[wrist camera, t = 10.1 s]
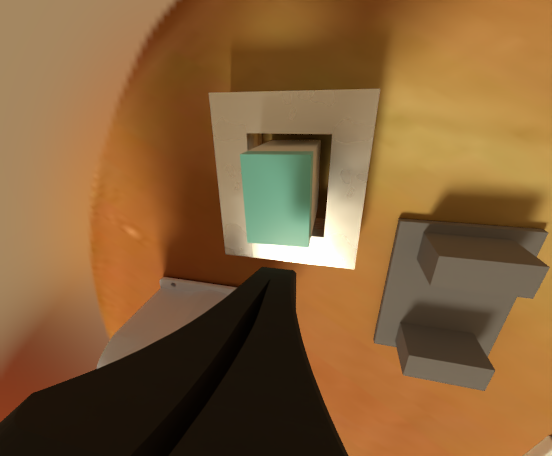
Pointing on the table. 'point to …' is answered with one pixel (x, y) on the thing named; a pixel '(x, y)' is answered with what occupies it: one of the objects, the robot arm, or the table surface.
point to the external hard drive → (541, 448)
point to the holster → (455, 295)
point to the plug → (281, 191)
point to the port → (297, 120)
